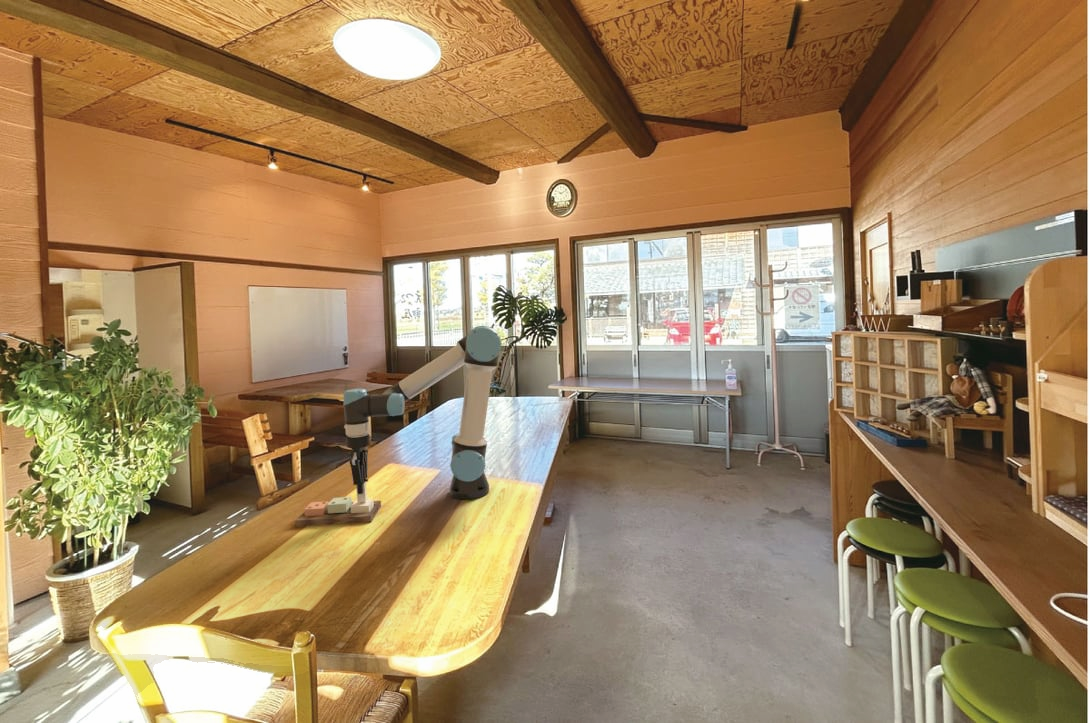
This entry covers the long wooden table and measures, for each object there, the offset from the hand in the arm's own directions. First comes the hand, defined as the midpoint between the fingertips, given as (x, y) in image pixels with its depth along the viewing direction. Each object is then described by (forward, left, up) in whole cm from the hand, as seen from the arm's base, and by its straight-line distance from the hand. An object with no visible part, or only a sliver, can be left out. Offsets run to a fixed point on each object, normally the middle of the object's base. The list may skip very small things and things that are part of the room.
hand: (362, 501), depth 161 cm
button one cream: (0, 0, -3) cm, 3 cm away
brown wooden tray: (+8, 0, -5) cm, 9 cm away
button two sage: (+8, 0, -2) cm, 8 cm away
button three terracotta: (+15, 0, -3) cm, 15 cm away
